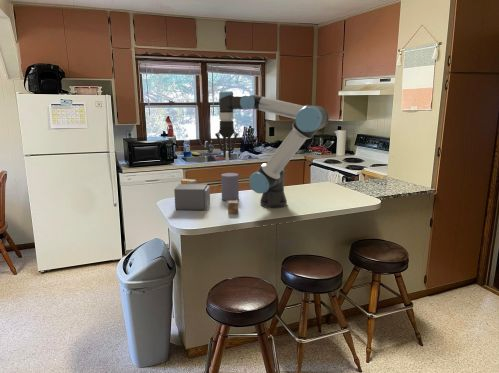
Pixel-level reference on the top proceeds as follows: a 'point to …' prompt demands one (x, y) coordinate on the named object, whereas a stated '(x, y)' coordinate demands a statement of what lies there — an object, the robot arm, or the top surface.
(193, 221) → the top surface
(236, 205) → the walnut block
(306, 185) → the top surface
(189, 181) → the supplement box
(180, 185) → the grey box
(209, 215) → the top surface
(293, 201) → the top surface
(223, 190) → the container
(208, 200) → the tray
